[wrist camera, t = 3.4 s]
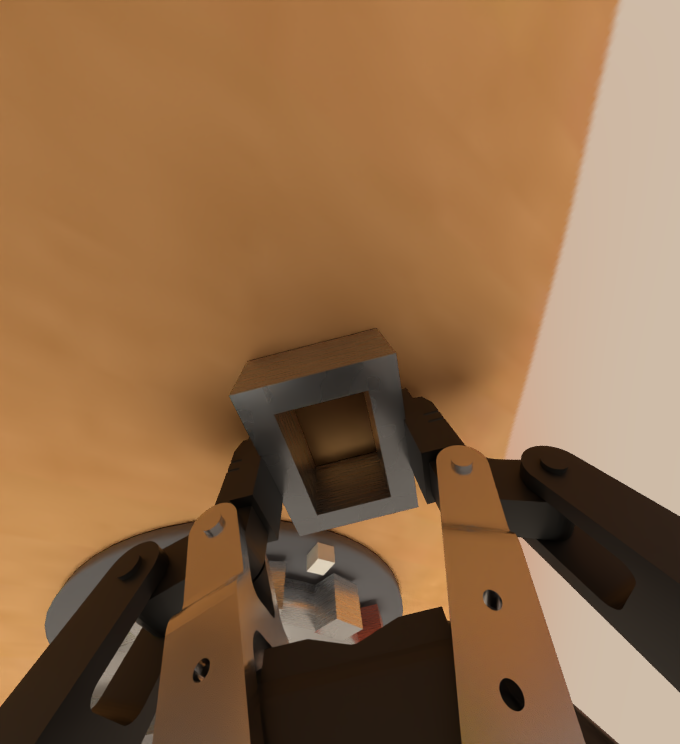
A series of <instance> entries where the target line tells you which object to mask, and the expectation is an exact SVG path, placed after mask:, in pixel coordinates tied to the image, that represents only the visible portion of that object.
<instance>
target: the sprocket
mask: <svg viewBox="0 0 680 744" xmlns="http://www.w3.org/2000/svg"><path fill="white" fill-rule="evenodd" d="M269 565H270V570H271V575H272V579H273V584H274V589H275V594H276V599H277V603H278V608H279V613H280V618H281V622H282V625H283V628H284V631H285V633H286V635H287V638H288V640H289V643H293V642H297V641H301V640H305V639H312V640H320V641H327V642H335V643H342V644H356V643H358V642H360V641H362V640H363V639H365V638H366V637H368V636H369V635H371V634H373V633H374V632H376V631H377V630H379V629H380V628H382V627H383V621H382V617H381V614H380V611H379V608H378V605H377V604H375V605H371V606H366V607H362V608H360V603H359V596H358V589H357V584H355V583H353V582H351V581H349V580H347V579H345V578H343V577H341V576H339V575H337V574H335V573H333V574H331V575H330V576H328V577H327V578H325V579H324V580H322V581H321V582H319V583H317V584H316V585H314V584H310V583H306V582H303V581H299V580H293V579H287V578H285V571H286V562H282V561H269ZM141 629H142V627H141V626H140V625H139V624H137V623H136V622H135V623H134V625H133V626H132V628H131V630H130V631H129V633H128V635H127V636H126V638H125V639H124V641H123V643H122V644H121V646H120V647H119V649H118V651H117V652H116V654H115V655H114V657H113V659H112V660H111V662H110V664H109V665H108V667H107V668H106V670H105V672H104V673H103V675H102V676H101V678H100V680H99V681H98V683H97V685H96V687H95V689H94V692H93V694H92V698H91V704H90V707H91V709H92V708H93V707H94V706H95V704H96V703H97V702H98V701H99V699H100V698H101V696H102V694H103V693H104V691H105V689H106V688H107V686H108V684H109V682H110V681H111V679H112V677H113V676H114V674H115V672H116V671H117V669H118V667H119V666H120V664H121V662H122V661H123V659H124V657H125V656H126V654H127V652H128V651H129V649H130V647H131V645H132V644H133V642H134V640H135V639H136V637H137V635H138V634H139V632H140V630H141ZM155 717H156V713H155V715H154V717H153V720H152V722H151V724H150V726H149V728H148V730H147V733H146V735H145V737H144V739H143V741H142V743H141V744H152V742H153V733H154V725H155Z"/></svg>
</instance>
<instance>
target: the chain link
mask: <svg viewBox="0 0 680 744" xmlns="http://www.w3.org/2000/svg"><path fill="white" fill-rule="evenodd" d="M361 392H364V397H365V401H366V406H367V410H368V415H369V419H370V424H371V428H372V433H373V437H374V442H375V446H376V451H377V452H373V453H370V454H366V455H362V456H358V457H354V458H350V459H346V460H342V461H338V462H334V463H330V464H326V465H322V466H318V467H316V466H315V463H314V461H313V458H312V455H311V453H310V450H309V447H308V445H307V442H306V440H305V437H304V434H303V432H302V429H301V426H300V424H299V421H298V419H297V416H296V413H295V411H294V409H298V408H302V407H306V406H310V405H313V404H317V403H321V402H325V401H329V400H333V399H337V398H341V397H345V396H349V395H353V394H357V393H361ZM229 397H230V399H231V401H232V403H233V405H234V407H235V409H236V411H237V413H238V415H239V417H240V419H241V421H242V423H243V425H244V427H245V429H246V431H247V433H248V435H249V437H250V438H251V440H252V442H253V444H254V446H255V448H256V450H257V452H258V454H259V456H261V455H262V457H263V459H264V461H265V463H266V465H267V467H268V469H269V471H270V473H271V475H272V477H273V479H274V481H275V483H276V485H277V487H278V489H279V491H280V493H281V495H282V497H283V504H284V506H285V508H286V510H287V512H288V514H289V516H290V518H291V520H292V522H293V524H294V526H295V528H296V530H297V532H298V534H299V536H303V535H307V534H311V533H315V532H319V531H323V530H327V529H332V528H336V527H340V526H344V525H348V524H352V523H356V522H360V521H364V520H368V519H372V518H376V517H380V516H384V515H388V514H392V513H396V512H400V511H404V510H408V509H412V508H416V507H418V501H417V494H416V487H415V480H414V473H413V471H412V469H411V467H410V460H409V453H408V446H407V440H406V433H405V426H404V419H406V418H405V411H404V404H403V397H402V390H401V383H400V376H399V369H398V362H397V356H396V352H395V351H394V350H393V348H392V347H391V346H390V345H389V343H388V342H387V341H386V340H385V338H384V337H383V336H382V335H381V333H380V332H379V331H378V329H377V328H376V329H372V330H368V331H364V332H360V333H356V334H352V335H348V336H344V337H341V338H337V339H333V340H329V341H325V342H321V343H317V344H313V345H309V346H305V347H302V348H298V349H294V350H290V351H286V352H282V353H278V354H274V355H270V356H266V357H262V358H259V359H255V360H251V361H247V363H246V365H245V367H244V369H243V371H242V372H241V374H240V376H239V378H238V380H237V382H236V384H235V385H234V387H233V389H232V391H231V393H230V395H229Z"/></svg>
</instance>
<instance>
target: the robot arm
mask: <svg viewBox="0 0 680 744" xmlns="http://www.w3.org/2000/svg"><path fill="white" fill-rule="evenodd" d="M401 390H402V397H403V404H404V411H405V418H406V419H404V426H405V433H406V440H407V446H408V453H409V460H410V467H411V469H412V471H413V473H414V476H415V478H416V480H417V482H418V484H419V487H420V489H421V491H422V493H423V496H424V498H425V500H426V502H427V504H430V503H434V502H436V504H437V506H438V508H439V510H440V512H441V523H442V534H443V545H444V557H445V568H446V579H447V591H448V602H449V614H450V621H447V619H446V617H445V614H444V611H443V608H442V607H438V608H433V609H429V610H425V611H421V612H417V613H413V614H409V615H404V616H400V617H397V618H396V619H394V620H393V621H391V622H390V623H388V624H386V625H385V626H383V627H382V628H380V629H379V630H377V631H376V632H374V633H373V634H371V635H369V636H368V637H366V638H365V639H363V640H362V641H360V642H358V643H356V644H342V643H335V642H327V641H320V640H312V639H305V640H301V641H297V642H293V643H289V640H288V638H287V635H286V633H285V631H284V628H283V625H282V622H281V618H280V613H279V608H278V603H277V599H276V594H275V589H274V584H273V579H272V575H271V570H270V565H269V561H268V558H267V556H266V555H265V554H266V548H267V543H269V542H273V541H277V540H278V539H279V530H280V521H281V511H282V502H283V497H282V495H281V493H280V491H279V489H278V487H277V485H276V483H275V481H274V479H273V477H272V475H271V473H270V471H269V469H268V467H267V465H266V463H265V461H264V459H263V457H262V455H261V456H259V454H258V452H257V450H256V448H255V446H254V444H253V442H252V440H251V438H250V437H249V439H248V440H245V441H243V442H242V443H241V444H240V445H239V447H238V448H237V449H236V450H235V452H234V455H233V457H232V460H231V464H230V466H229V468H228V473H227V474H226V476H225V479H224V482H223V485H222V487H221V490H220V493H219V495H218V498H217V501H216V504H215V506H213V507H211V508H209V509H208V510H206V511H205V512H204V513H203V514H202V515H201V516H200V517H199V518H198V519H197V520H196V521H195V523H194V524H193V526H192V528H191V530H190V533H189V535H188V536H186V537H184V538H182V539H180V540H178V541H177V542H175V543H173V544H171V545H169V546H167V547H165V548H164V549H161V548H160V547H159V545H158V544H157V543H155V542H153V541H147V542H143V543H141V544H138V545H136V546H134V547H133V548H131V549H130V550H128V551H127V552H126V553H124V554H123V555H122V556H121V557H120V558H119V559H118V560H117V561H116V562H115V563H114V564H113V565H112V567H111V568H110V569H109V570H108V572H107V573H106V574H105V575H104V577H103V578H102V579H101V580H100V582H99V583H98V584H97V586H96V587H95V588H94V589H93V591H92V592H91V593H90V594H89V596H88V597H87V598H86V599H85V601H84V602H83V603H82V604H81V606H80V607H79V608H78V610H77V611H76V612H75V613H74V615H73V616H72V617H71V618H70V620H69V621H68V622H67V623H66V625H65V626H64V627H63V628H62V630H61V631H60V632H59V634H58V635H57V636H56V637H55V639H54V640H53V641H52V642H51V644H50V645H49V646H48V647H47V649H46V650H45V651H44V652H43V654H42V655H41V656H40V658H39V659H38V660H37V661H36V663H35V664H34V665H33V666H32V668H31V669H30V670H29V671H28V673H27V674H26V675H25V677H24V678H23V679H22V680H21V682H20V683H19V684H18V685H17V687H16V688H15V689H14V690H13V692H12V693H11V694H10V695H9V697H8V698H7V699H6V701H5V702H4V703H3V704H2V706H1V707H0V744H141V743H142V741H143V739H144V737H145V735H146V733H147V730H148V728H149V726H150V724H151V722H152V720H153V717H154V715H155V713H156V717H155V725H154V733H153V742H152V744H618V743H617V742H616V741H615V740H614V739H613V738H612V737H610V736H609V735H608V734H607V733H606V732H605V731H604V730H602V729H601V728H600V727H599V726H598V725H597V724H596V723H594V722H593V721H592V720H591V719H590V718H589V717H588V716H586V715H585V714H584V713H583V712H582V711H581V710H579V709H578V708H577V707H576V706H575V705H574V704H573V703H572V701H571V698H570V694H569V691H568V688H567V685H566V682H565V679H564V676H563V673H562V670H561V667H560V664H559V661H558V658H557V655H556V652H555V648H554V645H553V642H552V639H551V636H550V633H549V630H548V627H547V624H546V621H545V618H544V615H543V612H542V608H541V606H540V602H539V599H538V596H537V593H536V590H535V587H534V584H533V581H532V578H531V575H530V572H529V568H528V565H527V562H526V559H525V556H524V553H523V550H522V548H521V545H520V542H519V540H518V537H522V538H523V539H524V540H525V541H526V542H527V543H528V544H529V545H530V546H531V547H532V548H533V549H534V550H535V551H536V552H538V554H539V555H540V556H541V557H542V558H544V559H545V561H547V562H548V563H549V564H550V565H551V566H552V567H553V568H554V569H555V570H556V571H557V572H558V573H559V574H560V575H561V576H562V577H563V578H564V579H565V580H566V581H567V582H568V583H569V584H570V585H571V586H572V587H573V588H574V589H575V590H576V591H577V592H578V593H579V594H580V595H581V596H582V597H583V598H584V599H585V600H586V601H587V602H588V603H589V604H590V605H591V606H592V607H594V609H595V610H597V612H598V613H600V614H601V615H602V616H603V617H604V618H605V619H606V620H607V621H608V622H609V623H610V624H611V625H612V626H613V627H614V628H615V629H616V630H617V631H618V632H619V633H620V634H621V635H622V636H623V637H624V638H625V639H626V640H627V641H628V642H629V643H630V644H631V645H632V646H633V647H634V648H635V649H636V650H637V651H638V652H639V653H640V654H641V655H642V656H643V657H645V659H646V660H647V661H648V662H649V663H650V664H652V666H653V667H654V668H656V669H657V670H658V671H659V672H660V673H661V674H662V675H663V676H664V677H665V678H666V679H667V680H668V681H669V682H670V683H671V684H672V685H673V686H674V687H675V688H676V689H677V690H678V691H679V692H680V516H678V515H676V514H675V513H673V512H671V511H670V510H668V509H666V508H664V507H662V506H661V505H659V504H657V503H656V502H654V501H652V500H650V499H649V498H647V497H645V496H644V495H642V494H640V493H638V492H636V491H635V490H633V489H631V488H630V487H628V486H626V485H625V484H623V483H621V482H619V481H618V480H616V479H614V478H613V477H611V476H609V475H607V474H606V473H604V472H602V471H600V470H599V469H597V468H595V467H594V466H592V465H590V464H588V463H587V462H585V461H583V460H581V459H580V458H578V457H576V456H575V455H573V454H571V453H569V452H567V451H565V450H562V449H559V448H555V447H549V446H535V447H531V448H529V449H527V450H525V451H524V452H523V454H522V457H521V460H501V459H490V458H486V457H485V456H484V455H483V454H482V453H480V452H479V451H477V450H476V449H473V448H471V447H468V446H465V445H464V443H463V442H462V441H461V439H460V438H459V437H458V435H457V434H456V433H455V432H454V430H453V429H452V428H451V426H450V425H449V424H448V422H447V421H446V420H445V419H444V418H443V416H442V415H441V413H440V412H438V409H437V408H436V407H435V406H434V404H433V403H432V402H431V401H429V400H427V399H425V398H423V397H422V396H421V397H417V398H414V399H413V398H412V396H411V395H410V393H409V392H408V390H407V389H406V388H403V389H401ZM135 622H136V623H137V624H139V625H140V626H141V627H142V629H141V630H140V632H139V634H138V635H137V637H136V639H135V640H134V642H133V644H132V645H131V647H130V649H129V651H128V652H127V654H126V656H125V657H124V659H123V661H122V662H121V664H120V666H119V667H118V669H117V671H116V672H115V674H114V676H113V677H112V679H111V681H110V682H109V684H108V686H107V688H106V689H105V691H104V693H103V694H102V696H101V698H100V699H99V701H98V702H97V703H96V704H95V706H94V707H93V708H92V709H91V707H90V704H91V698H92V694H93V692H94V689H95V687H96V685H97V683H98V681H99V680H100V678H101V676H102V675H103V673H104V672H105V670H106V668H107V667H108V665H109V664H110V662H111V660H112V659H113V657H114V655H115V654H116V652H117V651H118V649H119V647H120V646H121V644H122V643H123V641H124V639H125V638H126V636H127V635H128V633H129V631H130V630H131V628H132V626H133V625H134V623H135Z"/></svg>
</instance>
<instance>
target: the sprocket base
mask: <svg viewBox="0 0 680 744" xmlns="http://www.w3.org/2000/svg"><path fill="white" fill-rule="evenodd" d="M194 523H195V522H192V523H186V524H181V525H176V526H171V527H166V528H161V529H158V530H154V531H151V532H147V533H144V534H141V535H137V536H134V537H132V538H130V539H127V540H125V541H122V542H120V543H118V544H115V545H113V546H111V547H109V548H107V549H106V550H104V551H102V552H100V553H99V554H97V555H95V556H93V557H92V558H91V559H90V560H88V561H87V562H86V563H84V564H83V565H82V566H81V567H79V568H78V569H77V570H76V571H75V572H74V574H73V575H72V576H71V577H70V578H69V579H68V581H67V582H66V583H65V584H64V586H63V587H62V589H61V590H60V591H59V593H58V594H57V595H56V597H55V598H54V600H53V602H52V604H51V606H50V608H49V610H48V611H47V615H46V621H45V630H46V637H47V639H48V641H49V644H51V642H52V641H53V640H54V639H55V637H56V636H57V635H58V634H59V632H60V631H61V630H62V628H63V627H64V626H65V625H66V623H67V622H68V621H69V620H70V618H71V617H72V616H73V615H74V613H75V612H76V611H77V610H78V608H79V607H80V606H81V604H82V603H83V602H84V601H85V599H86V598H87V597H88V596H89V594H90V593H91V592H92V591H93V589H94V588H95V587H96V586H97V584H98V583H99V582H100V580H101V579H102V578H103V577H104V575H105V574H106V573H107V572H108V570H109V569H110V568H111V567H112V565H113V564H114V563H115V562H116V561H117V560H118V559H119V558H120V557H121V556H122V555H123V554H124V553H126V552H127V551H128V550H130V549H131V548H133V547H134V546H136V545H138V544H141V543H143V542H147V541H153V542H155V543H157V544H158V545H159V547H160V548H161V549H164V548H165V547H167V546H169V545H171V544H173V543H175V542H177V541H178V540H180V539H182V538H184V537H186V536H188V535H189V533H190V530H191V528H192V526H193V524H194ZM265 555H266V556H267V558H268V561H282V562H286V571H285V578H287V579H293V580H299V581H303V582H306V583H310V584H314V585H316V584H317V583H319V582H321V581H322V580H324V579H325V578H327V577H328V576H330V575H331V574H333V573H335V574H337V575H339V576H341V577H343V578H345V579H347V580H349V581H351V582H353V583H355V584H357V589H358V596H359V603H360V608H362V607H366V606H371V605H375V604H377V605H378V608H379V611H380V614H381V617H382V621H383V626H385V625H386V624H388V623H390V622H391V621H393V620H394V619H396V618H397V617H400V616H402V613H403V606H402V599H401V595H400V591H399V587H398V584H397V581H396V579H395V576H394V574H393V573H392V571H391V570H390V568H389V567H388V566H387V564H386V563H385V562H383V561H382V560H381V559H380V558H379V557H378V556H377V555H376V554H375V553H373V552H372V551H370V550H369V549H367V548H366V547H364V546H363V545H361V544H359V543H357V542H355V541H353V540H351V539H349V538H347V537H344V536H341V535H338V534H336V533H333V532H330V531H327V530H323V531H319V532H315V533H311V534H307V535H303V536H299V534H298V532H297V530H296V528H295V526H294V524H293V523H290V522H283V521H280V530H279V539H278V540H277V541H273V542H269V543H267V548H266V554H265Z"/></svg>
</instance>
